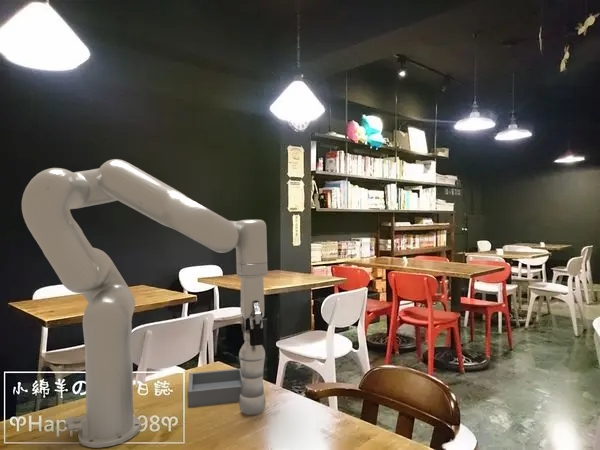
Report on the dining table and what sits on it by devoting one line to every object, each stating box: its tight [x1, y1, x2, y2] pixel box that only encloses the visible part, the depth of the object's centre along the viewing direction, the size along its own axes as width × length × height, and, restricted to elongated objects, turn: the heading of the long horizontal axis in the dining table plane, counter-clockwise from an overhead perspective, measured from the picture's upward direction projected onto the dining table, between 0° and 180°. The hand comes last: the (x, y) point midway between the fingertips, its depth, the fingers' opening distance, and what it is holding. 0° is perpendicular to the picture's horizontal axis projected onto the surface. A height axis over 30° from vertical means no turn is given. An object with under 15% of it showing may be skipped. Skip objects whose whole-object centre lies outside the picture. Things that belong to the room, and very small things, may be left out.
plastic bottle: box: [238, 330, 267, 416], centre depth 101 cm, size 6×7×20 cm
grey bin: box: [187, 367, 242, 408], centre depth 112 cm, size 15×13×4 cm
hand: (254, 339), depth 101 cm, fingers open, 9 cm apart
